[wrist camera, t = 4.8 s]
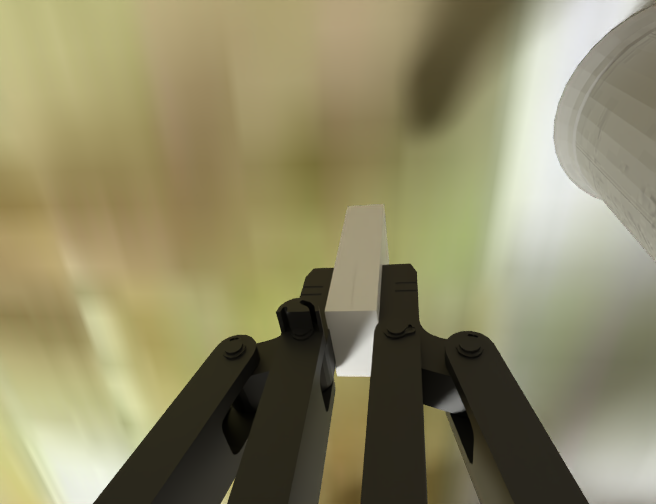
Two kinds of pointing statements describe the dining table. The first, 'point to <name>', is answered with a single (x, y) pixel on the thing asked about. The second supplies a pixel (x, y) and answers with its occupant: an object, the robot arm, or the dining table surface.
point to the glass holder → (615, 125)
